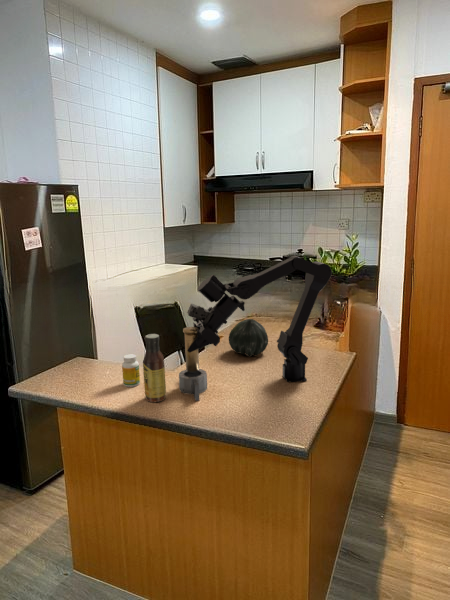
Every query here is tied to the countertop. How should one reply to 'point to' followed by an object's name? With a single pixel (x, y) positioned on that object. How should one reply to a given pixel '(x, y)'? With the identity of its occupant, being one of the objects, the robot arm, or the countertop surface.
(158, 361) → the sauce bottle
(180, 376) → the grey ring with arms
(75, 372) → the countertop surface
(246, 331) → the squash
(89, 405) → the countertop surface
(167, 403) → the countertop surface
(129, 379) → the supplement bottle
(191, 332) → the pin
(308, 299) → the robot arm
